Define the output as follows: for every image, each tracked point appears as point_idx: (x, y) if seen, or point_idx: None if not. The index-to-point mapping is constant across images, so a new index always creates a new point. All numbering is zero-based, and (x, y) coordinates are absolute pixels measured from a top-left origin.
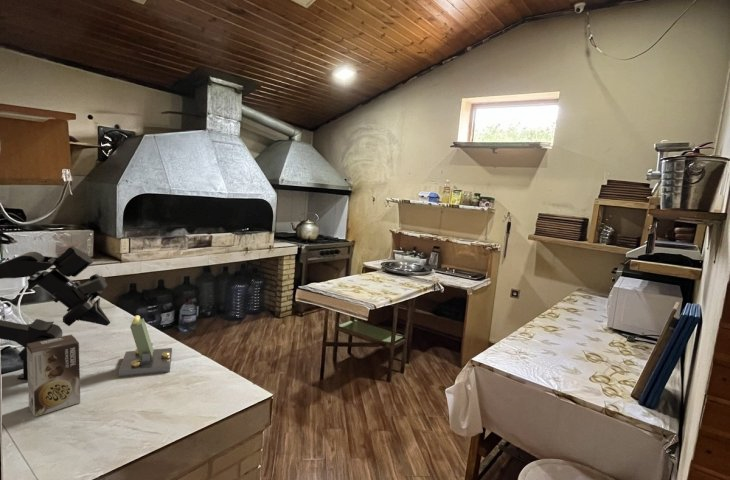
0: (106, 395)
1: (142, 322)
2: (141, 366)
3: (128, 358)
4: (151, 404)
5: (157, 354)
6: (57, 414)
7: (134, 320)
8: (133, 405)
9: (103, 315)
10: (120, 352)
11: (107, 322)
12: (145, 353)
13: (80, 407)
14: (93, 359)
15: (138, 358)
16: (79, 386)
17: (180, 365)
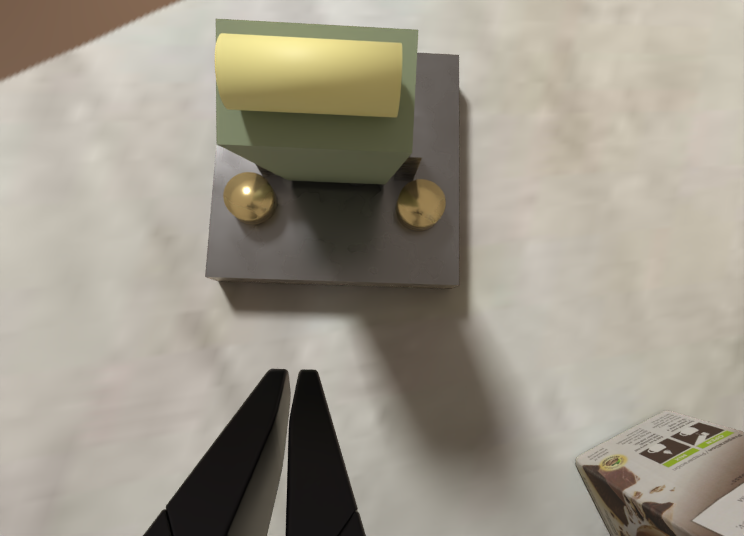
0: (618, 316)
1: (354, 28)
2: (436, 182)
3: (312, 254)
4: (726, 140)
5: None
6: None
7: (399, 76)
8: (722, 203)
9: (251, 483)
10: (131, 317)
11: (323, 394)
12: (414, 140)
13: (700, 401)
14: (190, 444)
15: (327, 203)
16: (739, 432)
17: None
